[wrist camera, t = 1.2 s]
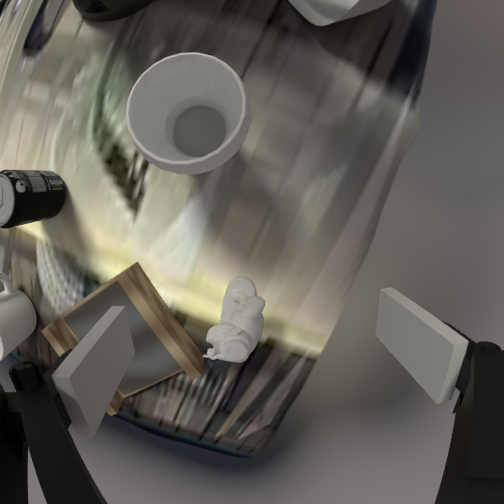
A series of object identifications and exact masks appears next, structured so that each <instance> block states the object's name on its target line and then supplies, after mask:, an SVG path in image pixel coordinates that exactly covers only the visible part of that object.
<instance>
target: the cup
mask: <svg viewBox="0 0 504 504" xmlns="http://www.w3.org/2000/svg"><path fill="white" fill-rule="evenodd" d="M251 111H252V106H251V101H250V97H249V93H248V91H247V89H246V87H245V85H244V84H243V82H242V80H241V79H240V77H239V76H238V75H237V73H236V72H235V71H234V70H233V69H232V68H231V67H229V66H228V65H227V64H226V63H225V62H223V61H221V60H219V59H217V58H216V57H214V56H211V55H207V54H202V53H180V54H176V55H172V56H168V57H166V58H164V59H162V60H160V61H158V62H156V63H155V64H153V65H152V66H151V67H149V68H148V69H147V70H146V71H145V72H144V73H143V74H142V75H141V76H140V77H139V79H138V80H137V82H136V83H135V84H134V86H133V88H132V90H131V93H130V95H129V98H128V101H127V109H126V120H127V126H128V130H129V133H130V135H131V137H132V139H133V141H134V143H135V145H136V147H137V149H138V151H139V152H140V153H141V154H142V155H143V156H144V157H145V158H146V160H147V161H148V162H150V163H152V164H153V165H155V166H157V167H158V168H160V169H162V170H166V171H170V172H173V173H177V174H195V175H196V174H200V173H204V172H208V171H211V170H213V169H215V168H217V167H219V166H221V165H223V164H225V163H226V162H227V161H228V160H229V159H230V158H231V157H233V156H234V155H235V154H236V153H237V151H238V150H239V148H240V147H241V145H242V144H243V142H244V141H245V138H246V135H247V132H248V129H249V126H250V123H251Z"/></svg>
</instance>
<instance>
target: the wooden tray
mask: <svg viewBox="0 0 504 504" xmlns="http://www.w3.org/2000/svg"><path fill="white" fill-rule="evenodd" d="M112 306H126V312H127V317H128V322H129V327H130V332H131V336H132V341H133V345H134V350H135V355H134V356H133V358H132V360H131V362H130V364H129V366H128V368H127V370H126V372H125V374H124V376H123V378H122V380H121V382H120V384H119V386H118V388H117V390H116V392H115V394H114V396H113V398H112V400H111V402H110V404H109V406H108V408H107V410H106V411H107V413H108V414H109V415H114V414H116V413H117V412H118V410H119V408H120V406H121V403H122V401H123V399H124V398H125V397H127V396H129V395H131V394H133V393H136V392H138V391H140V390H142V389H144V388H147V387H149V386H151V385H153V384H155V383H157V382H159V381H162V380H164V379H166V378H168V377H170V376H172V375H174V374H176V373H178V372H180V371H182V370H184V371H185V372H186V373H187V375H188V376H189V377H190V378H191V379H192V380H193V379H195V378H197V377H200V376H202V368H203V361H204V357H203V354H202V353H201V351H200V350H199V349H198V347H197V346H196V345H195V343H194V342H193V341H192V339H191V338H190V337H189V335H188V334H187V333H186V331H185V330H184V329H183V327H182V326H181V325H180V323H179V322H178V320H177V319H176V318H175V316H174V315H173V313H172V312H171V311H170V309H169V308H168V306H167V305H166V304H165V302H164V301H163V299H162V298H161V296H160V295H159V293H158V292H157V291H156V289H155V288H154V286H153V285H152V283H151V282H150V280H149V279H148V277H147V276H146V274H145V273H144V271H143V270H142V268H141V267H140V265H139V263H138V262H136V263H135V264H133V265H132V266H130V267H129V268H127V269H126V270H124V271H123V272H121V273H120V274H118V275H117V276H116V277H114V278H113V279H111V280H110V281H108V282H107V283H105V284H104V285H102V286H101V287H100V288H98V289H97V290H95V291H94V292H92V293H91V294H90V295H88V296H87V297H85V298H84V299H82V300H81V301H80V302H78V303H77V304H75V305H74V306H73V307H71V308H70V309H68V310H67V311H66V312H64V313H63V314H62V315H60V316H59V317H57V318H56V319H55V320H54V321H53V322H52V323H50V324H49V325H48V326H47V327H46V328H44V329H43V330H42V333H43V334H44V336H45V337H46V339H47V340H48V341H49V343H50V344H51V346H52V347H53V348H54V350H55V351H56V352H57V354H58V355H59V356H61V355H62V354H63V353H65V352H66V351H68V350H70V349H74V348H75V347H76V346H77V345H78V344H79V342H80V341H81V340H82V339H83V338H84V337H85V336H86V334H87V333H88V332H89V331H90V330H91V329H92V328H93V327H94V325H95V324H96V323H97V322H98V321H99V320H100V319H101V318H102V317H103V315H104V314H105V313H106V312H107V311H108V310H109V309H110V308H111V307H112Z"/></svg>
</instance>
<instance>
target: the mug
mask: <svg viewBox="0 0 504 504" xmlns="http://www.w3.org/2000/svg"><path fill="white" fill-rule="evenodd" d="M0 281H2V282H3V283H4V286H5V291H3V292H1V293H0V361H1V360H2V359H3V358H4V357H5V356H6V355H8V354H9V353H10V352H11V351H12V350H13V349H14V348H16V347H17V346H18V345H19V344H20V343H21V342H23V341H24V340H25V339H26V338H27V337H28V336H29V335H31V334H32V332H33V331H34V330H35V327H36V323H37V317H36V312H35V309H34V306H33V304H32V302H31V300H30V299H29V298H28V296H27V295H26V294H25V293H23V292H22V291H20V290H18V289H15V288H13V286H12V283H11V280H10V278H9V277H8V276H7V275H6V274H5V273H3V272H0Z"/></svg>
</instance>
